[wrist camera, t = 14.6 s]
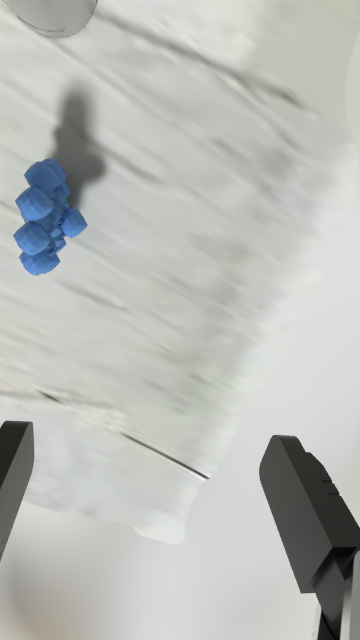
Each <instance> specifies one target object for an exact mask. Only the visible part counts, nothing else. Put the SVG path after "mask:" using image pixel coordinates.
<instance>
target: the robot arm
mask: <svg viewBox="0 0 360 640" xmlns="http://www.w3.org/2000/svg"><path fill="white" fill-rule="evenodd" d="M3 1H4V2H5V4H6V5H7V6H8V7H9V8H10V9H11V10H12V11H13V13H14V14H15V15H16V16H17V17H18V18H19V19H20V20H21V21H22V22H23V23H24V24H25V25H26V26H27V27H29V28H30V29H32V30H34V31H35V32H37V33H39V34H41V35H44V36H47V37H52V38H64V37H69V36H71V35H73V34H75V33H77V32H78V31H80V30H81V29H82V28H83V27H84V26H85V25H86V24H87V22H88V21H89V19H90V18H91V16H92V14H93V11H94V9H95V7H96V2H97V0H3ZM33 463H34V436H33V423H32V422H25V421H5V422H4V423H3V425H2V426H1V428H0V561H1V558H2V555H3V552H4V549H5V546H6V543H7V541H8V538H9V535H10V532H11V529H12V527H13V524H14V521H15V518H16V516H17V513H18V510H19V507H20V504H21V501H22V499H23V496H24V493H25V490H26V487H27V485H28V482H29V479H30V476H31V473H32V468H33ZM259 475H260V481H261V484H262V487H263V490H264V493H265V495H266V498H267V501H268V504H269V506H270V509H271V512H272V515H273V517H274V520H275V523H276V526H277V529H278V531H279V534H280V537H281V539H282V542H283V545H284V547H285V551H286V553H287V556H288V559H289V562H290V564H291V567H292V570H293V572H294V575H295V578H296V581H297V584H298V586H299V589H300V592H301V593H316V596H317V598H318V601H319V604H318V606H317V609H316V614H315V621H314V627H313V633H312V640H360V528H359V526H358V524H357V523H356V521H355V519H354V517H353V516H352V514H351V512H350V510H349V509H348V507H347V505H346V504H345V502H344V500H343V499H342V497H341V496H339V492H338V490H337V488H336V487H335V485H334V484H333V483H332V480H331V478H330V476H329V475H328V473H327V471H326V470H325V468H324V466H323V465H322V464H321V463H320V462H319V461H318V460H317V459H316V458H315V457H314V456H313V455H312V454H311V453H309V452H305V450H304V448H303V446H302V445H301V443H300V441H299V439H298V438H297V437H295V436H283V435H273V436H272V438H271V439H270V442H269V444H268V447H267V449H266V451H265V454H264V456H263V458H262V461H261V463H260V469H259Z"/></svg>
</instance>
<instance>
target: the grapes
mask: <svg viewBox="0 0 360 640" xmlns="http://www.w3.org/2000/svg"><path fill="white" fill-rule="evenodd" d="M24 176H25V178H26V180H27V182H28V184H29V185H30V188H28V189H26V190H25V191H24V192H23V193H22V194H21V195H20V196H19V197H18V198H17V199H16V201H15V202H16V204H17V206H18V208H19V209H20V211H21V215H22V217H23V219H24V221H25V224H24V225H23V226H22V227H21V228H20V229H18V230H17V232H16V233H15V234H14V235H13V236H14V238H15V240H16V242H17V244H18V246H19V247H20V248H21V250H22V251H23V253H22V254H21V255H20V256H19V258H20V260H21V262H22V264H23V266H24V268H25V269H26V270H27V271H28V272H29V273H30V274H32V275H36V276H37V275H39V274H42V273H43V274H45V273H47V272H49V271H51V270H53V269H54V268H55V267H56V266H57V265H58V263H59V262H60V260H59V258H58V256H57V254H56V253H58V252H59V251H60V250H61V249H62V248H63V247H64V246H65V245H66V242H65V240H64V238H63V237H65V236H68V237H70V238H73V237H75V236H77V235H78V234H80V233H81V232H82V231H83V230H84V229H85V228H86V227H87V226H88V225H87V223H86V221H85V219H84V218H83V216H82V215H81V213H80V212H79V211H78V210H77V209H75V208H72V207H71V208H70V207H69V205H68V203H67V202H68V200H67V198H66V197H68V195H69V194H70V193H71V191H70V190H69V188H68V186H67V184H66V183H65V180H66V178H67V175H66V173H65V171H64V170H63V168H62V167H61V165H60V164H59V162H58V161H56V160H55V159H53V158H48V159H45V160H43V161H40V162H36V163H35V164H33V165H32V166H31V167H30V168H29V169H28V170H27V171H26V173H25V174H24Z"/></svg>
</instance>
